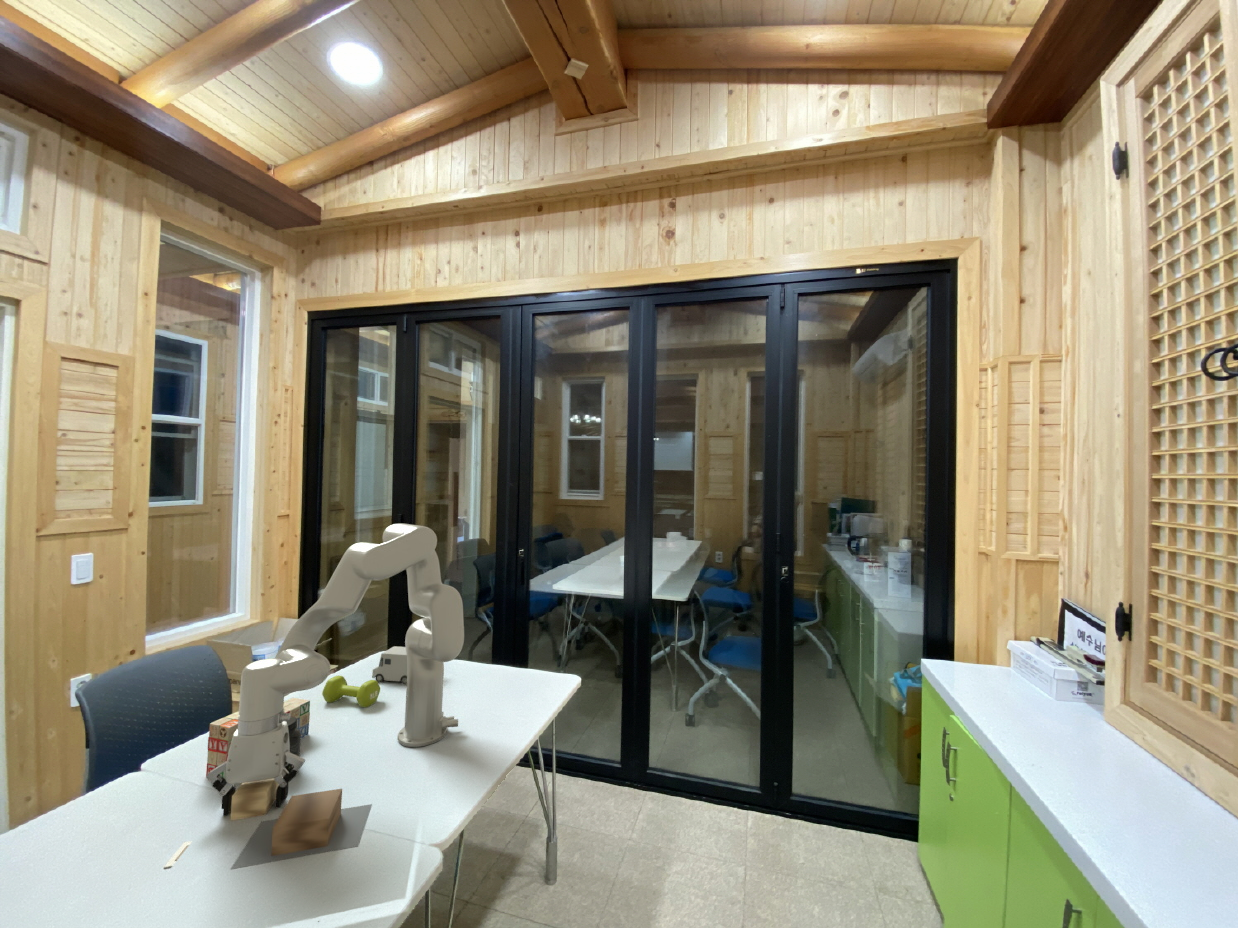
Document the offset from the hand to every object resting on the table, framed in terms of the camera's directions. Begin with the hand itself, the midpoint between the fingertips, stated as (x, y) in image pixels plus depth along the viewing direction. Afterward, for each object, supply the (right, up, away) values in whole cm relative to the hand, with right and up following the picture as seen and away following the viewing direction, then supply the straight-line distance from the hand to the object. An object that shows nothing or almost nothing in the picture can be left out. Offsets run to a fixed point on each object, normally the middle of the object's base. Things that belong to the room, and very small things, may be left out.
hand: (255, 806), depth 96 cm
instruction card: (-2, -1, -10) cm, 10 cm away
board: (+16, -1, -7) cm, 17 cm away
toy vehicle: (-2, -5, +68) cm, 69 cm away
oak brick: (0, -1, 0) cm, 1 cm away
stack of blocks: (-15, -3, +21) cm, 26 cm away
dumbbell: (-9, -4, +50) cm, 51 cm away
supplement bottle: (-4, -2, +13) cm, 14 cm away
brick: (+16, 0, -7) cm, 17 cm away
